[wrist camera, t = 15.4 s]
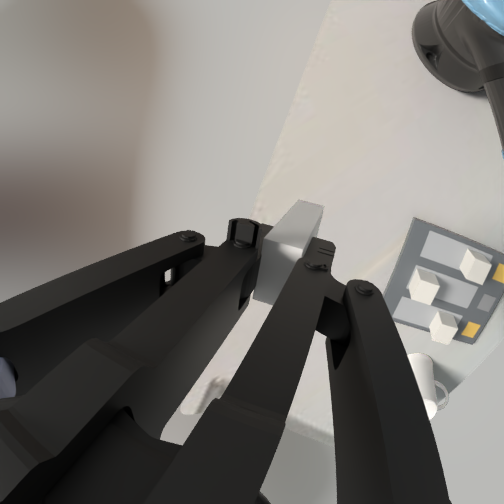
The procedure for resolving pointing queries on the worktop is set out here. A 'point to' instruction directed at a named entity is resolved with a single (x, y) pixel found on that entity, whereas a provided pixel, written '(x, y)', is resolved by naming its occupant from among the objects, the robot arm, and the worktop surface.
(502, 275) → the switch bank
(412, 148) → the worktop surface
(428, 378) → the mug
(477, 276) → the white cube
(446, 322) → the off-white cube
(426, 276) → the cream cube block
